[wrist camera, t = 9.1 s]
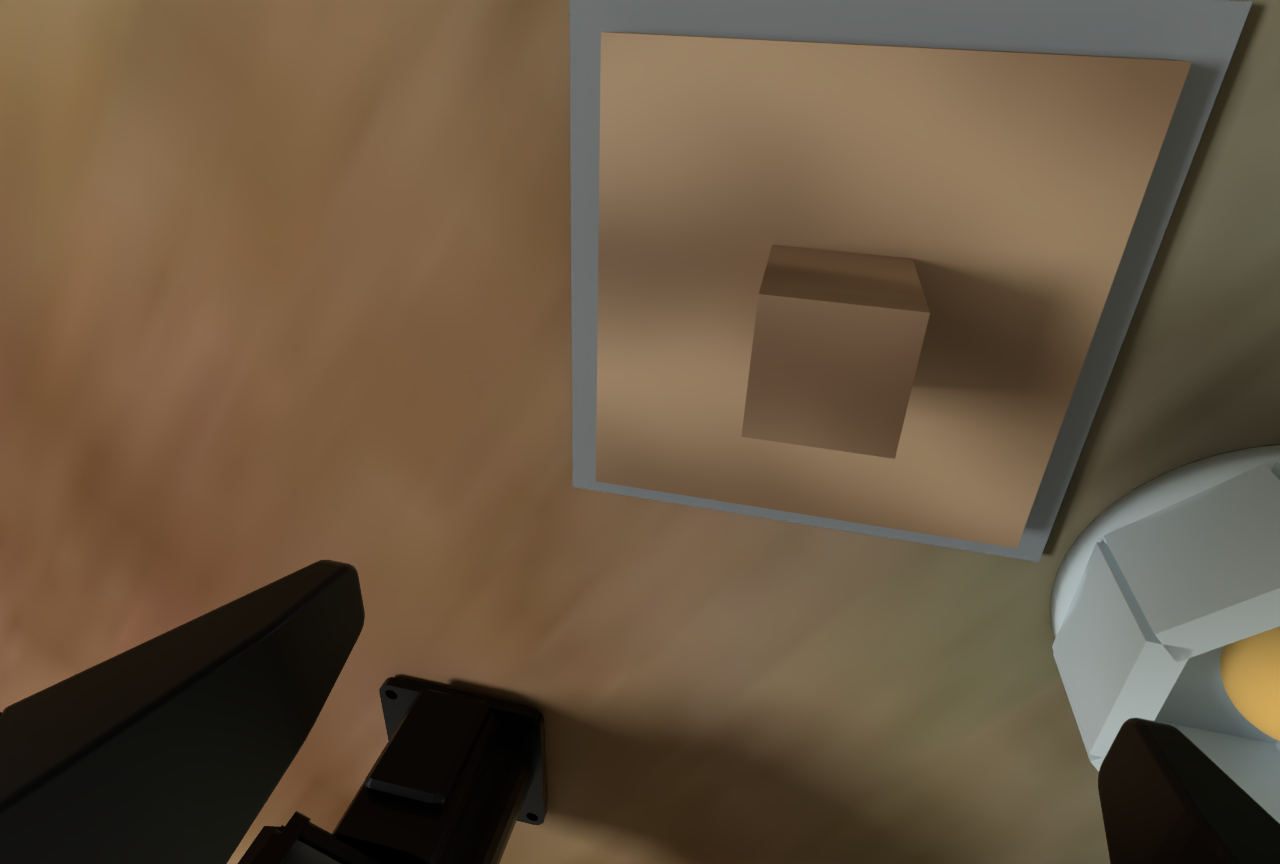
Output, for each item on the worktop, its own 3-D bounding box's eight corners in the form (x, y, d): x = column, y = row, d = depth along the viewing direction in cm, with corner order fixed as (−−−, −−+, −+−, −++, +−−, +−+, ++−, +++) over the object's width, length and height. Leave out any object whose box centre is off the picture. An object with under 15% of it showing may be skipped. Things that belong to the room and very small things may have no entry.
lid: (1008, 525, 20) (1051, 648, 16) (605, 463, 22) (555, 558, 18) (1170, 59, 14) (1293, 73, 10) (613, 31, 16) (544, 35, 12)
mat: (1035, 552, 20) (1039, 562, 20) (576, 479, 23) (572, 487, 22) (1242, 1, 14) (1252, 1, 14) (575, -23, 16) (569, -24, 16)
